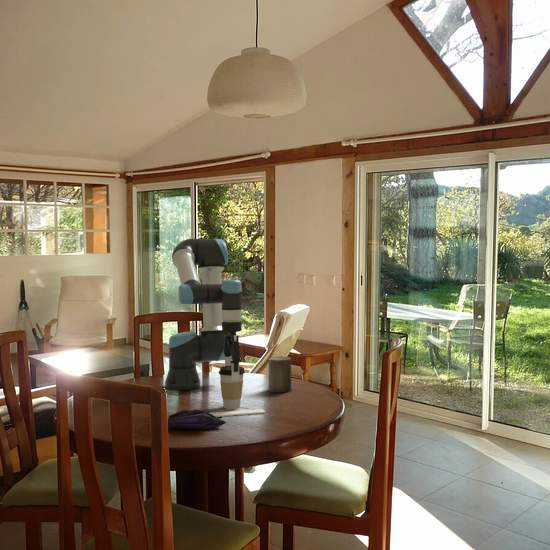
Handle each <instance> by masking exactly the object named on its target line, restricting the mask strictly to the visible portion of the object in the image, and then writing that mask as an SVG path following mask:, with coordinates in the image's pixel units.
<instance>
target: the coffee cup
mask: <svg viewBox="0 0 550 550" xmlns="http://www.w3.org/2000/svg"><path fill="white" fill-rule="evenodd" d="M218 374H219V378H220V379H219V381H220V391H221V399H222V406H223V409H225V408H226V410H237V409H236V408H238V409H239V407H240V408H241V400H242V397H243V396H242V395H243V387H244V385H243V384H244V374H245V370H244V367H243V366H241V365H239V380H237V381H232V366H225V365H223V366H221V367H220V369H219V371H218Z"/></svg>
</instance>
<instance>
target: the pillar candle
mask: <svg viewBox="0 0 550 550" xmlns="http://www.w3.org/2000/svg"><path fill="white" fill-rule="evenodd" d="M268 391H270V392H272V393H288V392H287V391H289V392H291V391H292V358H291V357H290V356H285V355H284V356H282V355H278V356H271V357H268Z"/></svg>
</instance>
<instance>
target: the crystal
mask: <svg viewBox="0 0 550 550" xmlns="http://www.w3.org/2000/svg"><path fill="white" fill-rule="evenodd" d="M210 413H211V412H208V411H206V410H201V409H196V408H195V409H191V410H186V409H183V410H181V411H178V412H175V413H173V414H170V415H168V418H167V419H168V426H169V428H168V429H172V428H186V430H187V428H188V430H190V429H191V430H214V429H215V430H216V429H217V428H220V427H221V426H223V425H225V424H226V421H224V420H223V417H224V416H223V417H222V416H220V417H215V416H214V415H212V414H210ZM168 426H167V427H168Z"/></svg>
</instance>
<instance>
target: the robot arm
mask: <svg viewBox="0 0 550 550" xmlns="http://www.w3.org/2000/svg"><path fill="white" fill-rule="evenodd" d="M228 253H229V252H228V248H227V244H226V241H225V240H224V239H221V238H187V239H184V240H182V241H180V242H179V243H178V244H177V245H176V246H175V247H174V248H173V250H172V253H171V261H172V264H173V266H174V267H175V268H176V270H177V273H178V277H179V282H180V285H179V286H178V289H177V290H178V292H177V296H178V302H179V303H180V304H181V305H200V304H201V305H202V313H203V314H202V315H203V317H202V318H203V320H202V321H203V327H202V328H201V329H200V331H199V332H200V334H197V333H196V332H195V331H184V332H178V333H174V334H172V335H171V336H170V337H169V339H168V347H167V348H168V372H167V375H166V377H165V381H164V388H166V389H167V390H172V391H189V390H195V389H198V388H200V387H201V379H200V376H199V373H198V370H197V363H200V362H203V363H205V362H220V361H224V366H232V381H237V380H239V366H240V363H241V351H240V341H239V335H237V333H238V332H241V331H242V330H243V329H242V321H241V320H242V315H243V314H244V311H242V290H243V288H242V281H241V280H240V279H223V280H222V272H223V271H224V270H225V266H226V265H228V263H229V254H228ZM196 266H198V267H197V268H196ZM197 269H198V270H197ZM198 271H199V272H201V280H202V281H201V280H200V277H199V274H198Z"/></svg>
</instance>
